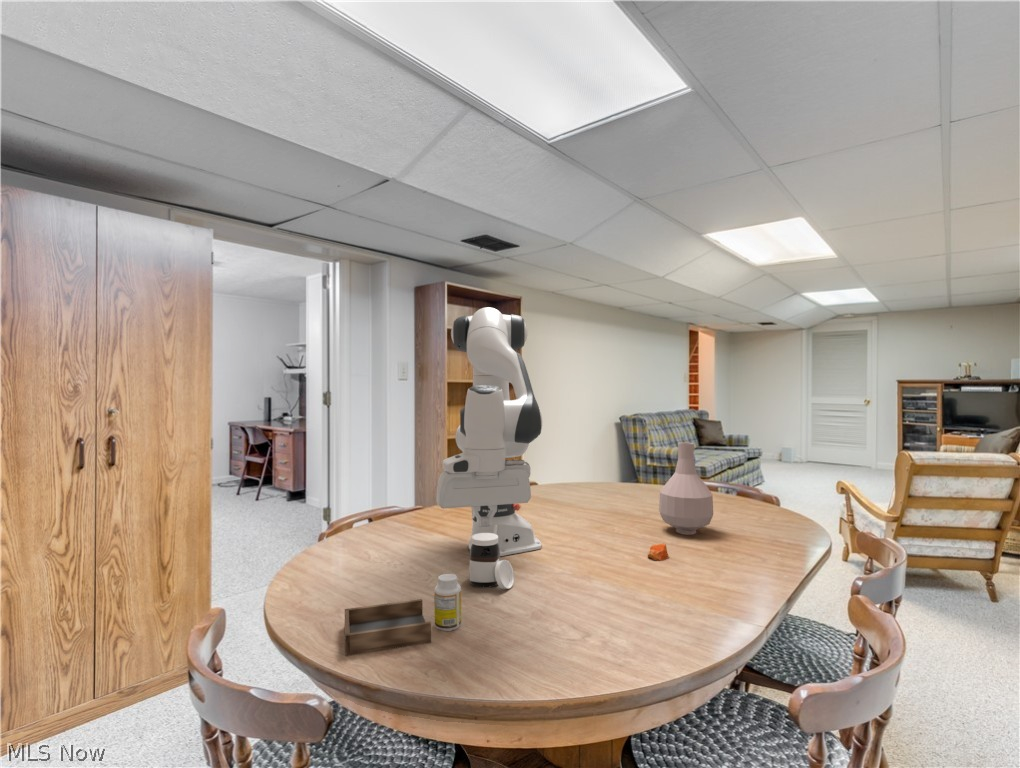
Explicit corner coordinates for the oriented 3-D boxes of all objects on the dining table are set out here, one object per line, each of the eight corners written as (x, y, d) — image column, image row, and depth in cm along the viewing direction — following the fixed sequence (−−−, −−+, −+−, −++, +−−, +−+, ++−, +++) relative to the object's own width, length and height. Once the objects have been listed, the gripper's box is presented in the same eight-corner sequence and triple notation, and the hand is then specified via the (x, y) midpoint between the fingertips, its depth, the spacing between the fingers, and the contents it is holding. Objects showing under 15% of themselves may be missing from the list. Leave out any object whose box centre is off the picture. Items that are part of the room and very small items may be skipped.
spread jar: (471, 574, 138) (471, 530, 138) (514, 575, 137) (514, 531, 137) (466, 593, 126) (466, 545, 126) (513, 593, 125) (513, 545, 125)
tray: (422, 616, 113) (421, 599, 113) (431, 642, 102) (431, 623, 102) (344, 627, 108) (344, 609, 108) (345, 656, 97) (345, 635, 97)
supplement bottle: (448, 617, 113) (448, 570, 113) (466, 625, 109) (466, 576, 109) (428, 626, 109) (428, 577, 109) (447, 634, 105) (447, 584, 105)
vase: (718, 529, 179) (718, 442, 179) (707, 542, 165) (707, 447, 164) (667, 522, 189) (667, 439, 189) (652, 534, 174) (652, 444, 174)
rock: (630, 562, 149) (630, 547, 149) (642, 550, 160) (642, 536, 160) (673, 569, 143) (673, 553, 143) (682, 556, 154) (682, 541, 154)
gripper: (525, 457, 117) (525, 518, 117) (435, 460, 111) (434, 525, 111) (535, 461, 111) (535, 526, 111) (440, 465, 105) (440, 533, 105)
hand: (484, 526), depth 111 cm, fingers closed
